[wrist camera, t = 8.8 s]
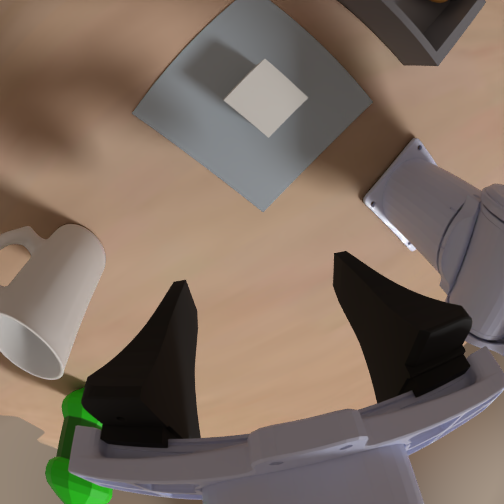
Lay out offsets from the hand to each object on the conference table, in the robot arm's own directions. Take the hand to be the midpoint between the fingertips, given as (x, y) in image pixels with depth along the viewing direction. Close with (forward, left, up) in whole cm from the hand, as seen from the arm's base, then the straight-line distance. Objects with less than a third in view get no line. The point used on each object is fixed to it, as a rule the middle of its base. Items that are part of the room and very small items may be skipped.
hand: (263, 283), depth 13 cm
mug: (+12, +12, -11) cm, 20 cm away
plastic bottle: (+2, +41, -11) cm, 42 cm away
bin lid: (+4, -7, -11) cm, 14 cm away
